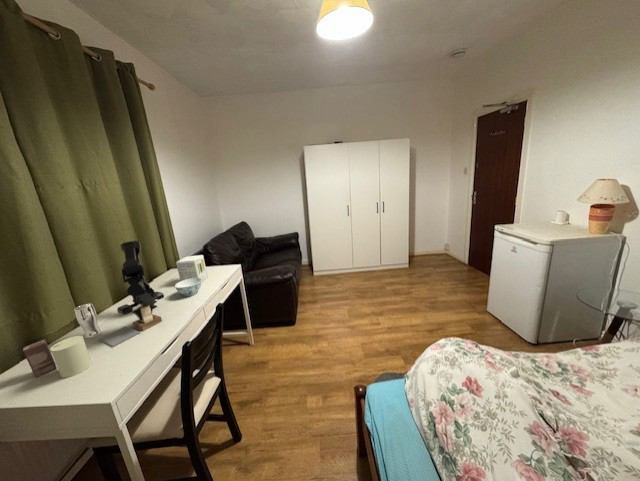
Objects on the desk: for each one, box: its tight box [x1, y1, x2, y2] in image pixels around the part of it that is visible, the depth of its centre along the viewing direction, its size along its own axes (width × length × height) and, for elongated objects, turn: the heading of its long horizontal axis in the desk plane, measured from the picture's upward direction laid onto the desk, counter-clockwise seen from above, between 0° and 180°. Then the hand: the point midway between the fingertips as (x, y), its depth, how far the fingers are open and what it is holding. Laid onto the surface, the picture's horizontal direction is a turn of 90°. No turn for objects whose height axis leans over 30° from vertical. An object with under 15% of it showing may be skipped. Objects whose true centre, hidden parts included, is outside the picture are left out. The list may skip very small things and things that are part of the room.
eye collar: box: [132, 313, 163, 332], centre depth 127 cm, size 9×9×2 cm
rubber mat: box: [98, 326, 141, 348], centre depth 119 cm, size 14×11×1 cm
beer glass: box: [73, 302, 102, 340], centre depth 121 cm, size 7×7×15 cm
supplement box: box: [175, 254, 209, 284], centre depth 179 cm, size 13×13×18 cm
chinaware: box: [174, 278, 202, 297], centre depth 159 cm, size 15×15×8 cm
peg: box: [137, 305, 153, 324], centre depth 126 cm, size 4×4×10 cm
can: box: [49, 335, 93, 379], centre depth 97 cm, size 9×9×12 cm
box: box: [22, 339, 58, 378], centre depth 98 cm, size 6×4×12 cm
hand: (146, 318), depth 127 cm, fingers closed on peg, 4 cm apart
